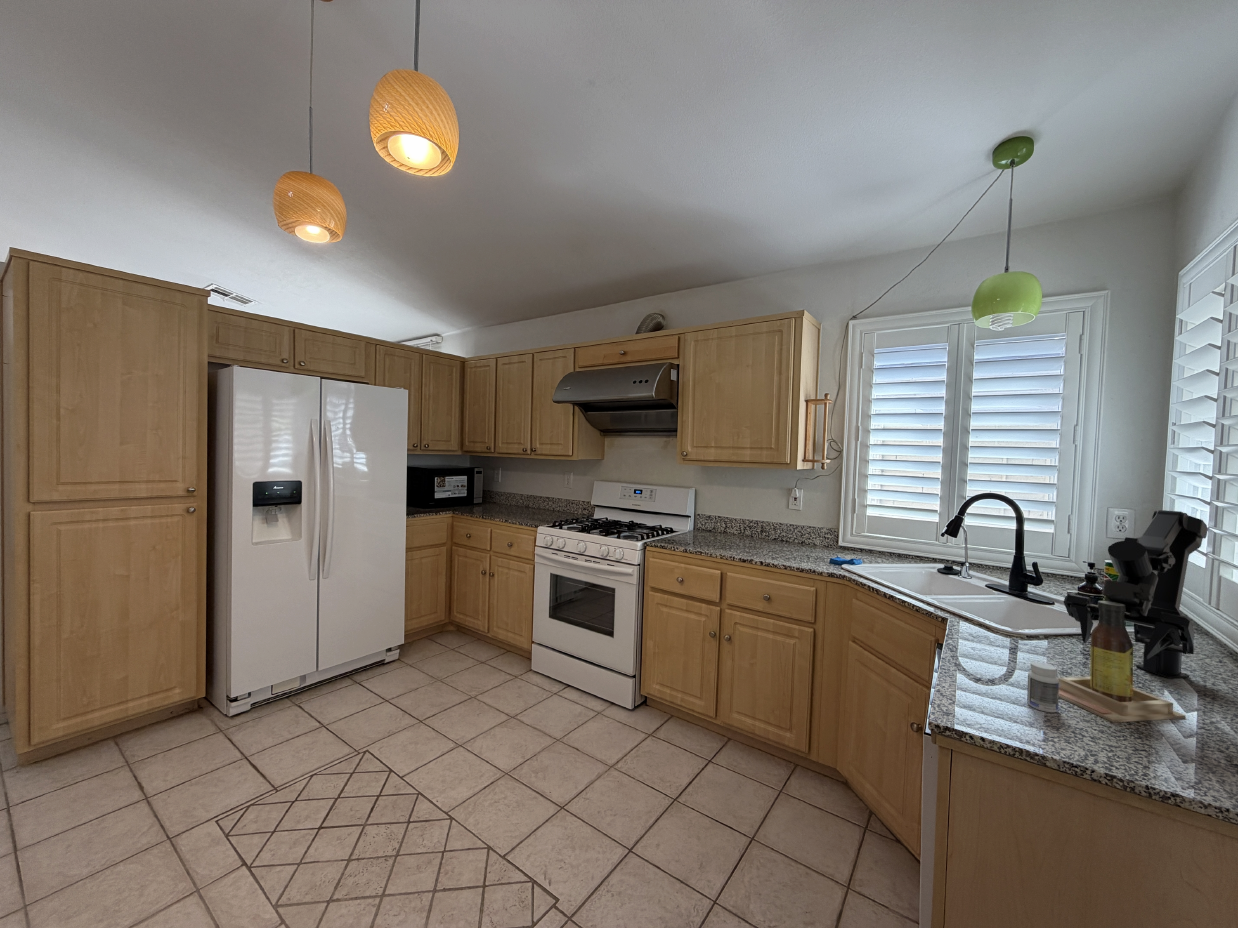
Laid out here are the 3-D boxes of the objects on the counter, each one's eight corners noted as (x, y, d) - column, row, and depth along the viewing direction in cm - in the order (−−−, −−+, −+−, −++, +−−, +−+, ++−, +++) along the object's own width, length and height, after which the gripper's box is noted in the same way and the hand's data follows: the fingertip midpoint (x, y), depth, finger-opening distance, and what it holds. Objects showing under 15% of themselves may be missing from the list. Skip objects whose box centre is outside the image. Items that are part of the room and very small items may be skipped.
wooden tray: (1103, 684, 108) (1103, 673, 108) (1185, 717, 94) (1186, 705, 94) (1038, 687, 105) (1038, 676, 105) (1113, 722, 91) (1113, 709, 91)
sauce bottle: (1140, 708, 96) (1144, 609, 96) (1100, 702, 98) (1104, 605, 98) (1119, 694, 102) (1122, 601, 102) (1082, 688, 104) (1085, 597, 104)
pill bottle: (1064, 714, 94) (1065, 671, 94) (1036, 711, 95) (1038, 668, 95) (1047, 702, 99) (1049, 661, 98) (1021, 699, 99) (1023, 659, 99)
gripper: (1068, 558, 110) (1045, 612, 105) (1192, 576, 94) (1173, 642, 89) (1080, 588, 114) (1059, 642, 109) (1202, 611, 98) (1184, 676, 93)
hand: (1113, 649), depth 100 cm, fingers open, 9 cm apart
